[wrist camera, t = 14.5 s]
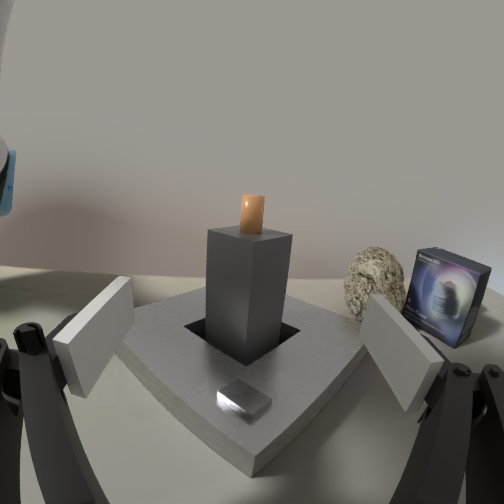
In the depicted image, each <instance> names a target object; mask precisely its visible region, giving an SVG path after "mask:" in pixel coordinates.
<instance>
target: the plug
mask: <svg viewBox="0 0 504 504" xmlns="http://www.w3.org/2000/svg"><path fill="white" fill-rule="evenodd" d="M264 198H265V197H264V196H259V195H242V208H241V221H240V225H239V226H231V227H223V228H216V229H209V230H208V236H207V238H208V239H207V264H206V266H207V267H206V315H205V341H206V342H208V343H209V344H211V345H212V346H214V347H215V348H217V349H218V350H220V351H222V352H223V353H225V354H226V355H228V356H230V357H231V358H233V359H234V360H236V361H238V362H239V363H241V364H243V365H244V366H248V365H250V364H251V363H253V362H254V361H256V360H258V359H259V358H261V357H262V356H264V355H265V354H267V353H268V352H270V351H272V350H273V349H275V348H276V347H278V343H279V336H280V329H281V322H282V315H283V308H284V301H285V293H286V286H287V278H288V269H289V262H290V253H291V244H292V236H293V235H292V234H287V233H283V232H279V231H275V230H270V229H266V228H262V223H263V211H264Z"/></svg>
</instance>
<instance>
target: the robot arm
mask: <svg viewBox="0 0 504 504" xmlns="http://www.w3.org/2000/svg"><path fill="white" fill-rule="evenodd" d="M14 1H15V0H0V70H1V62H2V55H3V48H4V43H5V37H6V33H7V27H8V23H9V19H10V15H11V11H12V8H13V4H14ZM15 161H16V151H15V150H11V149H7V145H6V142H5V140H4V139H3V138H2V137H1V136H0V217H3V216H7V215H8V214H9V213H10V212H11V209H12V199H13V182H14V171H15ZM134 323H135V315H134V305H133V294H132V282H131V277H124V276H118V277H117V278H116V279H115V280H114V281H113V282H112V283H110V284H109V285H108V286H107V287H106V288H105V289H104V290H103V291H102V292H101V293H100V294H98V295H97V296H96V297H95V298H94V299H93V300H92V301H91V302H90V303H89V304H88V305H87V306H86V307H85V308H84V309H83V310H81V311H80V312H79V313H74V314H72V315H70V316H68V317H66V318H65V319H64V320H63V321H62V322H61V324H59V325H58V326H57V327H56V328H55V329H54V330H53V331H52V332H51V333H50V334H49V335H48V336H47V337H46V338H45V337H44V333H43V330H42V327H41V325H39V324H38V323H34V322H30V323H24V324H21V325H20V326H18V327H17V328H16V329H15V330H14V332H13V335H14V338H15V341H16V344H17V347H18V349H19V350H14V349H9V347H8V345H7V342H6V340H4V339H3V338H0V504H21V500H20V449H21V435H22V426H23V417H24V420H25V427H26V432H27V438H28V443H29V448H30V452H31V457H32V461H33V465H34V469H35V472H36V476H37V479H38V482H39V486H40V489H41V492H42V495H43V498H44V501H45V503H46V504H110V503H109V502H108V500H107V498H106V496H105V494H104V492H103V490H102V488H101V486H100V484H99V482H98V480H97V478H96V476H95V474H94V472H93V470H92V468H91V465H90V463H89V461H88V459H87V456H86V454H85V451H84V449H83V446H82V444H81V441H80V439H79V436H78V433H77V430H76V428H75V425H74V422H73V419H72V416H71V413H70V409H69V406H68V403H67V399H66V396H65V393H64V391H63V389H64V387H65V386H66V384H67V385H68V387H69V390H70V392H71V394H73V395H76V396H79V397H82V398H87V396H88V394H89V393H90V391H91V389H92V388H93V386H94V384H95V383H96V381H97V380H98V378H99V376H100V375H101V373H102V372H103V370H104V368H105V367H106V365H107V364H108V362H109V361H110V359H111V357H112V356H113V354H114V353H115V351H116V350H117V348H118V347H119V345H120V344H121V342H122V341H123V339H124V338H125V336H126V335H127V333H128V332H129V330H130V329H131V327H132V326H133V324H134ZM359 337H360V339H361V340H362V342H363V344H364V345H365V347H366V348H367V350H368V352H369V353H370V355H371V356H372V358H373V360H374V361H375V363H376V364H377V366H378V368H379V369H380V371H381V373H382V374H383V376H384V378H385V379H386V381H387V383H388V384H389V386H390V388H391V389H392V391H393V393H394V394H395V396H396V398H397V400H398V401H399V403H400V405H401V406H402V408H403V410H404V412H405V413H406V412H411V411H415V410H419V408H420V406H421V405H422V403H423V401H424V400H425V401H426V403H427V404H428V406H427V407H426V409H425V411H424V412H423V414H422V416H421V417H420V419H419V420H418V422H417V423H420V421H421V420H422V421H421V424H420V428H419V431H418V434H417V437H416V440H415V443H414V446H413V449H412V451H411V454H410V457H409V459H408V462H407V465H406V467H405V470H404V472H403V474H402V477H401V479H400V481H399V484H398V486H397V488H396V490H395V492H394V495H393V497H392V499H391V501H390V503H389V504H457V502H458V499H459V495H460V491H461V486H462V482H463V477H464V472H465V473H466V504H504V372H503V371H502V370H501V369H500V368H499V367H498V366H496V365H492V364H487V365H485V366H484V368H483V370H482V372H481V374H478V373H472V371H471V370H470V368H468V367H467V366H466V365H463V364H461V363H451V362H450V361H449V360H448V359H447V358H446V357H445V356H444V355H443V354H442V352H441V351H440V350H438V348H437V347H436V346H435V345H434V344H433V343H432V342H431V341H430V340H429V339H428V338H427V337H425V336H424V335H422V334H419V332H418V331H417V330H416V329H415V328H414V327H413V326H412V325H411V324H410V323H409V322H408V321H407V320H406V319H405V318H404V317H403V316H402V315H401V314H400V313H399V312H398V311H397V310H396V309H395V308H394V307H393V306H392V305H391V304H390V303H389V302H388V301H387V300H386V299H385V298H384V297H383V296H382V295H381V294H370V295H369V299H368V303H367V307H366V311H365V314H364V318H363V322H362V325H361V329H360V332H359ZM486 407H487V411H486V414H485V413H484V410H485V409H486Z"/></svg>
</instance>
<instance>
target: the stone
mask: <svg viewBox="0 0 504 504" xmlns="http://www.w3.org/2000/svg"><path fill="white" fill-rule="evenodd" d="M403 281H404V275H403V268H402V267H401V265H400V264H399V262H398V261H397V260H396V257H395V256H394V255H393V254H391V253H390V252H388V251H387V250H385V249H382V248H378V247H370V248H367V249H365V250H364V251H362V252H360V253H359V254H357V255H356V257H355V258H354V259H353V260H352V261H351V264H350V267H349V269H348V275H347V277H346V278H345V281H344V289H345V302H346V305H347V307H348V309H349V310H350V312H351V314H352V315H353V317H354V318H355V319H356V320H357V321H359V322H363V318H364V314H365V311H366V307H367V303H368V299H369V295H370V294H381V295H382V296H383V297H384V298H385V299H386V300H387V301H388V302H389V303H390V304H391V305H392V306H393V307H394V308H395V309H396V310H397V311H398V312H399V313H400V312H401V311H402V309H403V307H404V303H405V300H406V291H405V288H404V286H403Z"/></svg>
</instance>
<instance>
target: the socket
mask: <svg viewBox="0 0 504 504" xmlns="http://www.w3.org/2000/svg"><path fill="white" fill-rule="evenodd" d="M134 315H135V323H134V324H133V326H132V327H131V329H130V330H129V332H128V333H127V335H126V336H125V338H124V339H123V341H122V342H121V344H120V345H119V347H118V348H117V350H116V351H115V353H116V354H117V355H118V357H119V358H120V359H121V360H122V361H123V362H124V364H125V365H126V366H127V367H128V368H129V369H130V371H131V372H132V373H133V374H134V375H135V376H136V377H137V378H138V380H139V381H140V382H141V383H142V384H143V385H144V386H145V387H146V388H147V389H148V390H149V391H150V392H151V394H152V395H153V396H154V397H155V398H156V399H157V400H158V401H159V402H160V403H161V404H162V405H163V406H164V407H165V408H166V409H167V410H168V411H169V412H170V413H172V414H173V415H174V416H175V417H176V418H177V419H178V420H179V421H180V422H181V423H182V424H183V425H184V426H186V427H187V428H188V429H189V430H190V431H191V432H192V433H193V434H195V435H196V436H197V437H198V438H199V439H200V440H202V441H203V442H204V443H205V444H206V445H208V446H209V447H210V448H211V449H213V450H214V451H215V452H216V453H218V454H219V455H220V456H221V457H223V458H224V459H225V460H227V461H228V462H229V463H231V464H232V465H233V466H235V467H236V468H237V469H239V470H240V471H242V472H243V473H244V474H246V475H247V476H249V477H250V478H252V477H253V476H254V475H255V474H256V473H257V472H259V471H260V470H261V469H262V468H263V467H264V466H266V465H267V464H268V463H269V462H270V461H271V460H272V459H273V458H274V457H275V456H277V455H278V454H279V453H280V452H281V451H282V450H283V449H284V448H285V447H286V446H287V445H288V444H289V443H290V442H291V441H292V440H293V439H294V438H295V437H296V436H297V435H298V434H299V433H300V432H301V431H302V430H303V429H304V428H305V427H306V426H307V425H308V424H309V423H310V422H311V421H312V420H313V419H314V417H315V416H316V415H317V414H318V413H319V412H320V411H321V410H322V409H323V407H324V406H325V405H326V404H327V403H328V402H329V401H330V399H331V398H332V397H333V396H334V395H335V394H336V392H337V391H338V390H339V389H340V388H341V386H342V385H343V384H344V383H345V381H346V380H347V379H348V378H349V376H350V375H351V374H352V373H353V371H354V370H355V369H356V367H357V366H358V365H359V363H360V362H361V361H362V359H363V358H364V357H365V355H366V354H367V353H368V350H367V348H366V347H365V345H364V344H363V342H362V340H361V339H360V337H359V332H360V329H361V325H362V322H359V321H356V320H353V319H350V318H348V317H345V316H342V315H339V314H336V313H334V312H331V311H328V310H325V309H323V308H320V307H317V306H315V305H312V304H309V303H306V302H304V301H301V300H298V299H296V298H293V297H290V296H288V295H285V301H284V308H283V315H282V322H281V329H280V336H279V343H278V347H276V348H275V349H273V350H272V351H270V352H268V353H267V354H265V355H264V356H262V357H261V358H259V359H258V360H256V361H254V362H253V363H251V364H250V365H248V366H244V365H243V364H241V363H239V362H238V361H236V360H234V359H233V358H231V357H230V356H228V355H226V354H225V353H223V352H222V351H220V350H218V349H217V348H215V347H214V346H212V345H211V344H209V343H208V342H206V341H205V315H206V287H203V288H200V289H197V290H193V291H190V292H187V293H183V294H180V295H177V296H173V297H170V298H167V299H163V300H160V301H157V302H153V303H150V304H146V305H143V306H139V307H136V308H134Z"/></svg>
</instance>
